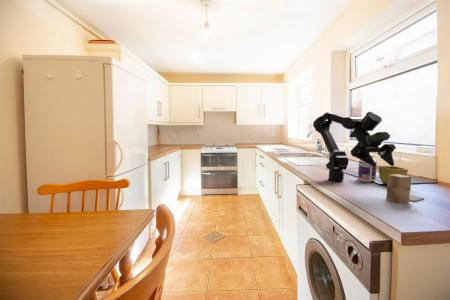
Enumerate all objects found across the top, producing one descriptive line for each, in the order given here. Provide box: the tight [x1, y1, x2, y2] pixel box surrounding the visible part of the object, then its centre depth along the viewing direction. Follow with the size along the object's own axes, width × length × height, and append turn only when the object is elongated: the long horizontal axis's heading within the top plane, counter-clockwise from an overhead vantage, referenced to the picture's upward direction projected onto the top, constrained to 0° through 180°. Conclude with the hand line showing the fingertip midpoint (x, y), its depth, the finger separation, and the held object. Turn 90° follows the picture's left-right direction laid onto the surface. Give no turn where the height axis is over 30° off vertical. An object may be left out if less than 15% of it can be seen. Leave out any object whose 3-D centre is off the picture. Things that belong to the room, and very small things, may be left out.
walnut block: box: [385, 174, 412, 204], centre depth 86 cm, size 5×5×10 cm
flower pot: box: [378, 165, 409, 185], centre depth 111 cm, size 9×9×9 cm
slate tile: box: [409, 194, 425, 203], centre depth 91 cm, size 8×8×1 cm
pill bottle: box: [357, 153, 378, 183], centre depth 120 cm, size 8×8×14 cm
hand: (384, 165), depth 92 cm, fingers open, 9 cm apart
